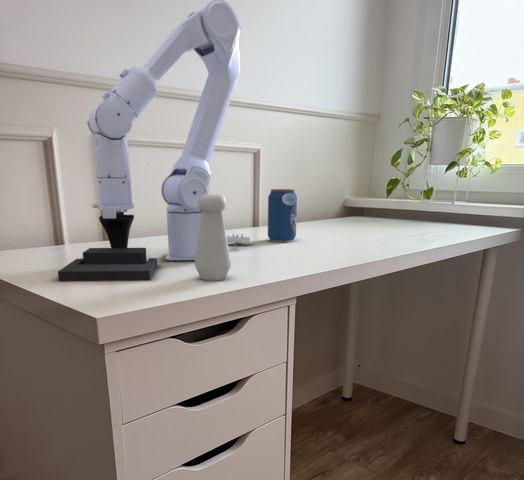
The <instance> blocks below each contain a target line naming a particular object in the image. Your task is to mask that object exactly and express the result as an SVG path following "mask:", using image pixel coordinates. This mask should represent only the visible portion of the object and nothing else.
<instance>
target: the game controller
mask: <svg viewBox="0 0 524 480" xmlns="http://www.w3.org/2000/svg"><path fill="white" fill-rule="evenodd" d="M240 235H241V236H239V234H236V235H235V234H234V233H232V236H230V235H226V238H227V243H228V244H230V243H233V244H234V246H233V249H236V246H237V244H242V243H243V244H250V241H251V239H250V237H249V236H244V234H243V233H241V234H240Z"/></svg>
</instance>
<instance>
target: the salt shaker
mask: <svg viewBox="0 0 524 480" xmlns="http://www.w3.org/2000/svg"><path fill="white" fill-rule="evenodd" d="M198 208H199V209H200V210H202V216H201V223H200V230H199V236H198V243H197V250H196V257H195V260H194V267H195V269H196V271H197V274H198V276H199V278H200V279H202V280H203V281H213V282H217V281H222V280H223V281H224V280H226V279H227V276H228V273H229V271H230V270H231V267H232V258H231V254H230V248H229V243H227V238H226V237H227V232H226V229H225V228H226V227H225V222H224V218H223V217H224V216H223V212H222V211H224V210H226V208H227V200H226V197H225V196H224V195H223V194H218V193H209V194H204V195H201V196H200V197H199V198H198Z"/></svg>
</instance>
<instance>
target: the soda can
mask: <svg viewBox="0 0 524 480" xmlns="http://www.w3.org/2000/svg"><path fill="white" fill-rule="evenodd" d="M295 191H296V190H295V189H290V188H288V189H285V188H273V189H270V193H269V195H268V197H267V237H268V239H269V240H270V241H271V242H275V243H290V242H294V240H295V238H296V236H297V214H298V212H297V210H298V197H297V194H296V192H295Z"/></svg>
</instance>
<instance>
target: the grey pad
mask: <svg viewBox="0 0 524 480" xmlns="http://www.w3.org/2000/svg"><path fill="white" fill-rule="evenodd" d="M147 258H148V257H147V248H146V247H127V248H111V247H89V248H87V249H86V250H84V251H83V252H82V259H83V262H84V265H89V264H145V263H146V262H147V261H148V259H147Z"/></svg>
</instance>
